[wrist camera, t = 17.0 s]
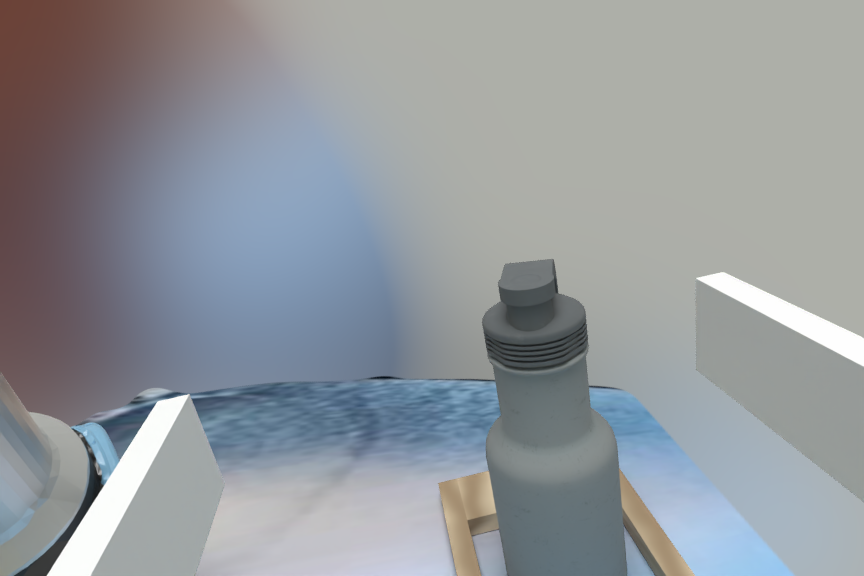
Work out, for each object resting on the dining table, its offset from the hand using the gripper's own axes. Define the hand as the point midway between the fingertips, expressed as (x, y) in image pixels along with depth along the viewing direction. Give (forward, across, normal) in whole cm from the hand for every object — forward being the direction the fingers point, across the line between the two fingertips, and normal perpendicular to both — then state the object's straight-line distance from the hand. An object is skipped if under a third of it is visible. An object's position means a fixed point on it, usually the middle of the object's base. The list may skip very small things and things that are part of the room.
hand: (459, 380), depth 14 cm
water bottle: (+21, +8, -34) cm, 40 cm away
